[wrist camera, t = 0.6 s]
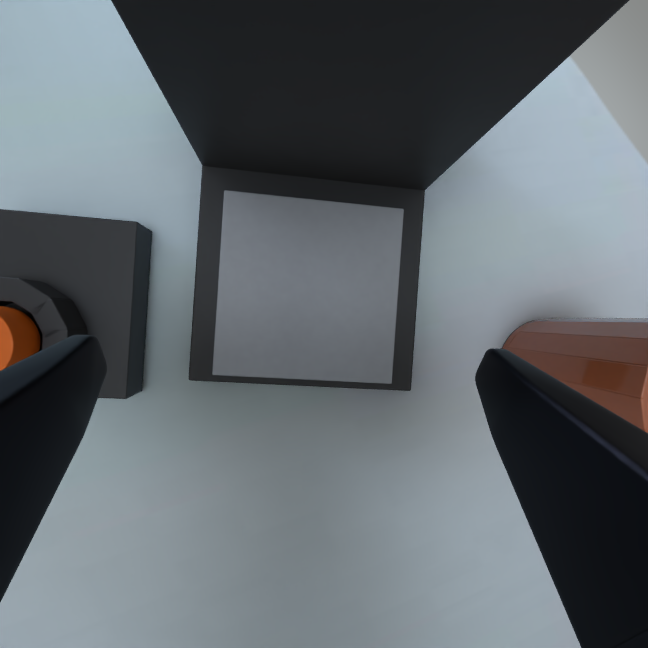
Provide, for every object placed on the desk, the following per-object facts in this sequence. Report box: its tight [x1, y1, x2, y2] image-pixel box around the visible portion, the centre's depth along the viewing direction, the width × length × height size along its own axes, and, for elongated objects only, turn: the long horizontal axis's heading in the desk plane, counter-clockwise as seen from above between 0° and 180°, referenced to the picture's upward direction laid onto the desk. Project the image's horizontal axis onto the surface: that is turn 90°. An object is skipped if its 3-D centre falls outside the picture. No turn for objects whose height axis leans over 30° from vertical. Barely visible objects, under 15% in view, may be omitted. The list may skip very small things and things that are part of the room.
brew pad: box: [0, 209, 152, 399], centre depth 19 cm, size 10×9×4 cm
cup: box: [502, 318, 648, 433], centre depth 20 cm, size 7×7×10 cm
